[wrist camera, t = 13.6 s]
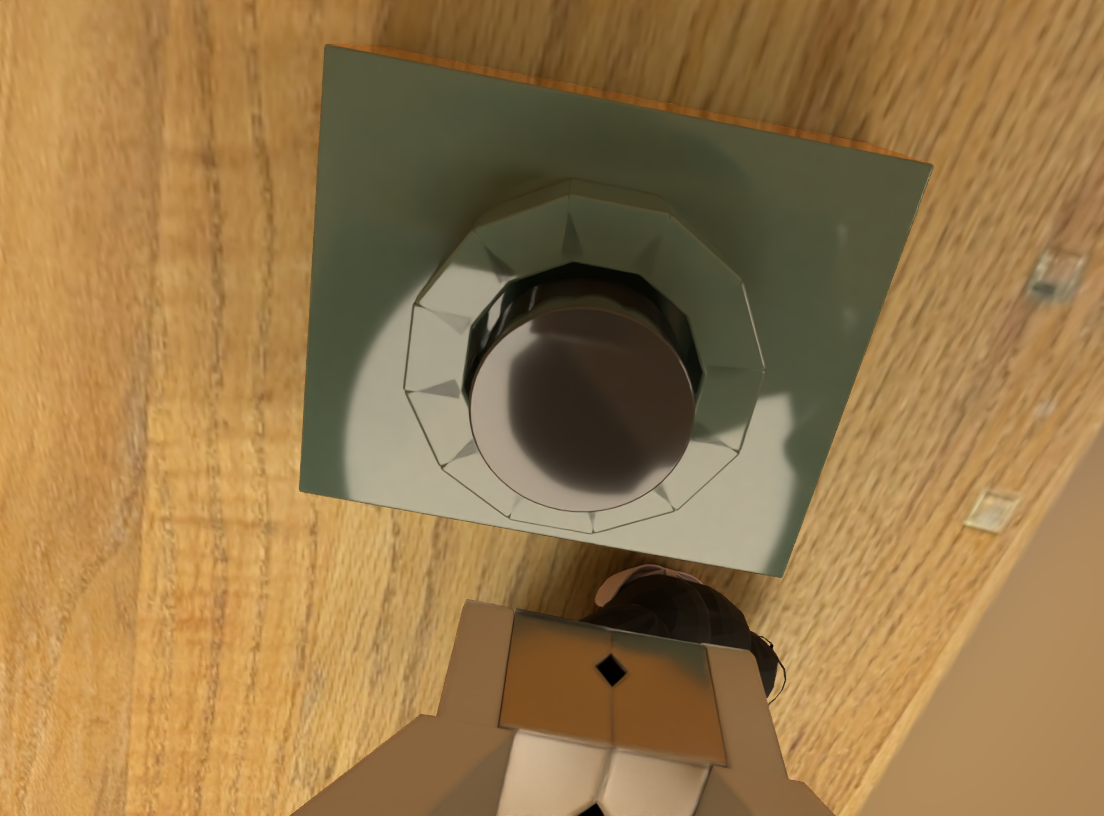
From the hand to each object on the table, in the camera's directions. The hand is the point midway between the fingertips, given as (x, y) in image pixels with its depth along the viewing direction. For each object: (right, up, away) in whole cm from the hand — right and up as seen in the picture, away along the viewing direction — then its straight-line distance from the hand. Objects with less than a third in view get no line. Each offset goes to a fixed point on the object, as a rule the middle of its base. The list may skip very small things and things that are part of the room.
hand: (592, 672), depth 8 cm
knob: (0, +3, +7) cm, 8 cm away
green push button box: (0, +6, +13) cm, 14 cm away
